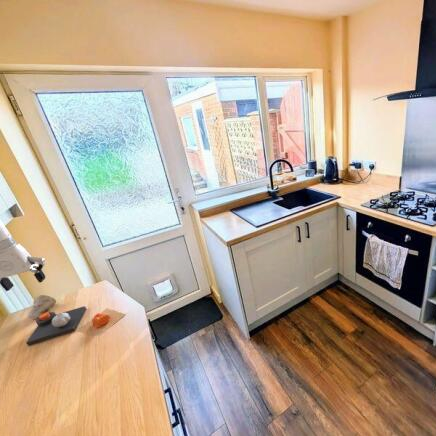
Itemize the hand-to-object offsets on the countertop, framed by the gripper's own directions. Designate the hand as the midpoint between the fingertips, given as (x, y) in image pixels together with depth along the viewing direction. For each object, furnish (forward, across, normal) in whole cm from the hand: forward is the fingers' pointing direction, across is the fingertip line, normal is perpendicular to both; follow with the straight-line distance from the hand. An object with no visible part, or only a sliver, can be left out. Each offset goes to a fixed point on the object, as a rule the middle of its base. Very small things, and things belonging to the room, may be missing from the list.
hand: (26, 284), depth 91 cm
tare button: (+19, -4, +4) cm, 20 cm away
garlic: (+20, +4, -2) cm, 21 cm away
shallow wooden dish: (+22, +18, -6) cm, 29 cm away
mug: (+22, -10, +14) cm, 28 cm away
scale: (+22, +1, 0) cm, 22 cm away
